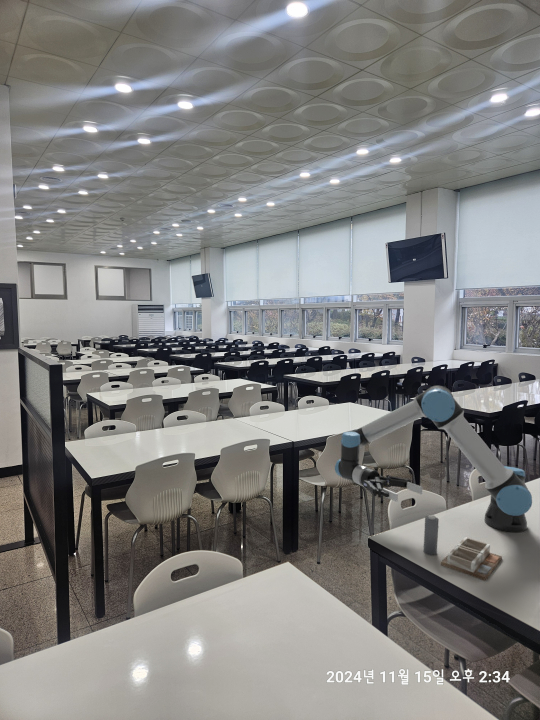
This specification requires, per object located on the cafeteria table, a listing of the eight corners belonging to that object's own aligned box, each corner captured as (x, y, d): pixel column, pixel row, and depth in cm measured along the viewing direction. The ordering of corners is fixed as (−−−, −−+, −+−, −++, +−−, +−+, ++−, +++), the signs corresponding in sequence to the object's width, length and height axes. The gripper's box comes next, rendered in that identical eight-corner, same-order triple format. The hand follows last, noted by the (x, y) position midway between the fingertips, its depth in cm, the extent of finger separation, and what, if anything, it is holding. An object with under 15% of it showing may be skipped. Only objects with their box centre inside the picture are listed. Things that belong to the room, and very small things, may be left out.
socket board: (459, 545, 168) (460, 534, 167) (501, 559, 159) (502, 547, 158) (440, 564, 154) (441, 553, 154) (485, 580, 145) (486, 568, 145)
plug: (426, 547, 166) (428, 512, 165) (438, 552, 163) (440, 516, 162) (421, 552, 162) (423, 516, 161) (433, 556, 160) (435, 520, 158)
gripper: (387, 480, 194) (430, 497, 177) (343, 492, 180) (385, 511, 162) (388, 463, 193) (431, 478, 176) (343, 473, 179) (386, 490, 162)
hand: (409, 494), depth 169 cm, fingers open, 13 cm apart
